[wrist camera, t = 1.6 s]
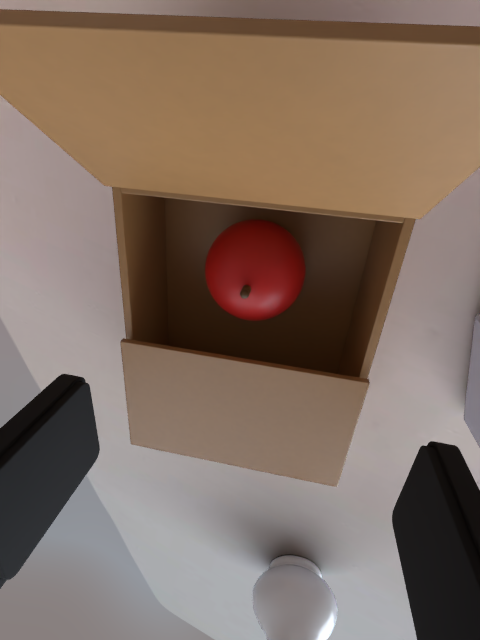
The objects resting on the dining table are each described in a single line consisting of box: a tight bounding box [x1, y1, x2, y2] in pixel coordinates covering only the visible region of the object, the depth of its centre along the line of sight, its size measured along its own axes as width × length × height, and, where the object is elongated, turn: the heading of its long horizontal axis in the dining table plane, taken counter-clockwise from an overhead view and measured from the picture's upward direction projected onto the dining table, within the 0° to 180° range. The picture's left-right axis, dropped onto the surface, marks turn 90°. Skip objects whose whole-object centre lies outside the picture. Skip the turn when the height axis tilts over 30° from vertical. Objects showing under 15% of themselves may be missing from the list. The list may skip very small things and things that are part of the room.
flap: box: [0, 9, 480, 219], centre depth 12 cm, size 9×15×1 cm
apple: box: [205, 219, 306, 321], centre depth 21 cm, size 6×6×7 cm
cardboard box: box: [112, 187, 416, 487], centre depth 23 cm, size 18×15×7 cm
